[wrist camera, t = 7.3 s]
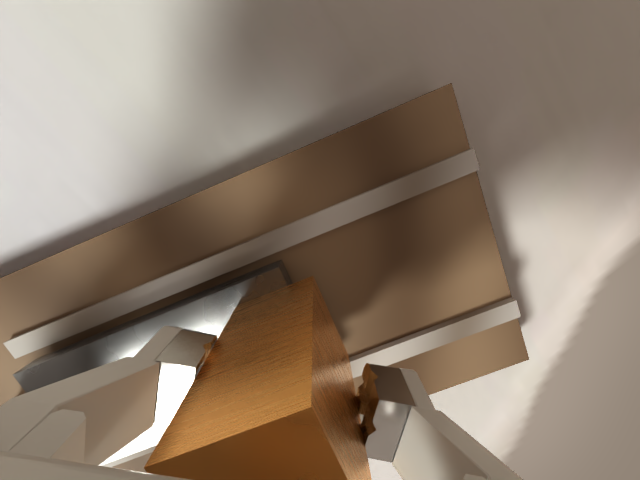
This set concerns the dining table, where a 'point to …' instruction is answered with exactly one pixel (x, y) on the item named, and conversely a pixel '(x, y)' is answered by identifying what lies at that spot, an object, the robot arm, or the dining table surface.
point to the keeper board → (306, 255)
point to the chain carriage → (242, 384)
